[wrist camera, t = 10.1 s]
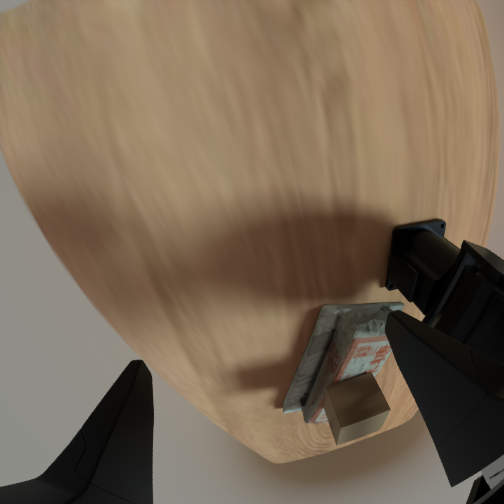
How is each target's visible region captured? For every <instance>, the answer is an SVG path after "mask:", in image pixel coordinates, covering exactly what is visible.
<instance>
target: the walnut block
mask: <svg viewBox="0 0 504 504" xmlns="http://www.w3.org/2000/svg"><path fill="white" fill-rule="evenodd" d="M324 410H325V413H326V416H327V419H328V422H329V425H330V428H331V431H332V434H333V436H334V439H335V442H336V445H340V444H343V443H346V442H349V441H352V440H354V439H357V438H360V437H363V436H365V435H368V434H371V433H373V432H376V431H378V430H380V429H381V427H382V426H383V424H384V422H385V420H386V418H387V416H388V414H389V412H390V410H391V409H390V407H389V405H388V403H387V401H386V399H385V397H384V395H383V393H382V391H381V389H380V387H379V386H378V384H377V382H376V380H375V378H374V376H373V374H372V372H369V373H366V374H363V375H360V376H358V377H355V378H352V379H349V380H346V381H342V382H339V383H336V384H333V385H329V386H326V387H325V402H324Z"/></svg>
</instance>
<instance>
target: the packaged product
mask: <svg viewBox="0 0 504 504" xmlns="http://www.w3.org/2000/svg"><path fill="white" fill-rule="evenodd" d="M403 307H404V303H402V302H389V303H367V304H330V305H324V306H323V307H322V308H321V310H320V313H319V316H318V319H317V321H316V324H315V328H314V331H313V333H312V335H311V338H310V340H309V342H308V344H307V347H306V349H305V351H304V354H303V357H302V359H301V362H300V364H299V366H298V369H297V371H296V373H295V376H294V378H293V381H292V383H291V386H290V388H289V390H288V392H287V395H286V398H285V400H284V403H283V413H291V412H296V411H302V412H303V416H304V421H305V422H306V423H314V424H323V423H326V422H328V419H327V416H326V413H325V410H324V402H325V387H326V386H329V385H333V384H336V383H339V382H342V381H346V380H349V379H352V378H355V377H358V376H360V375H363V374H366V373H369V372H372V374H373V376H374V377H375V376H376V374H377V373H378V372H379V370H380V368H381V367H382V366H383V364H384V363H385V361H386V359H387V358H388V356H389V354H390V353H391V352H392V349H391V347H390V344H389V342H388V339H387V337H386V334H385V324H386V320H387V316H388V313H389V312H391V311H394V310H401V311H402V309H403Z"/></svg>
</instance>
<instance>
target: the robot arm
mask: <svg viewBox="0 0 504 504" xmlns="http://www.w3.org/2000/svg"><path fill="white" fill-rule="evenodd" d="M445 227H446V222H445V221H443V220H441V219H440V220H435V221H429V222H423V223H418V224H412V225H406V226H401V227H396V228H395V229H394V230H393V234H392V243H391V251H390V256H389V263H388V270H387V278H386V284H385V287H386V288H387V290H389V291H391V290H395V289H398V290H399V291H400V292H401V293H402V294H403V295H404V297H405V298H406V299H407V300H408V301H409V302H413V303H414V304H415V305H416V306H417V307H418V308H419V310H420V311H421V312H422V313H423V314H424V315H426V316H425V317H424V319H423V320H422V322H421V321H419V320H418V319H416V318H414V317H412V316H410V315H408V314H406V313H404V312H402V311H401V310H394V311H391V312H389V313H388V316H387V320H386V324H385V334H386V337H387V339H388V342H389V344H390V347H391V349H392V352H393V354H394V357H395V360H396V362H397V365H398V367H399V369H400V371H401V373H402V375H403V377H404V379H405V381H406V383H407V385H408V387H409V389H410V391H411V393H412V395H413V397H414V399H415V401H416V404H417V406H418V408H419V410H420V412H421V414H422V416H423V419H424V421H425V423H426V425H427V428H428V430H429V432H430V435H431V437H432V439H433V442H434V444H435V447H436V449H437V452H438V454H439V457H440V459H441V462H442V464H443V467H444V469H445V472H446V475H447V477H448V480H449V483H450V485H451V487H453V486H455V485H457V484H459V483H461V482H462V481H464V480H466V479H468V478H469V477H471V476H473V475H474V474H476V473H477V472H479V471H481V472H482V475H481V476H480V477H479V478H477V479H476V480H475V481H474V483H473V486H472V489H471V492H470V494H469V497H468V500H467V502H466V504H504V260H503V259H501V258H500V257H499V256H497V255H496V254H494V253H493V252H491V251H490V250H488V249H487V248H484V247H481V246H479V245H476V244H474V243H471V242H468V241H466V240H463V242H462V245H461V249H459V248H458V247H457V246H455V245H454V244H453V243H451V242H450V241H448V240H447V239H446V238H444V233H445ZM398 232H399V234H398ZM397 234H398V235H397ZM153 426H154V405H153V385H152V376H151V373H150V371H149V369H148V368H147V366H146V364H145V363H144V361H143V360H133V361H131V362H130V363H129V364H128V366H127V367H126V368H125V370H124V371H123V372H122V373H121V375H120V376H119V377H118V379H117V380H116V381H115V383H114V384H113V385H112V387H111V388H110V390H109V391H108V392H107V393H106V395H105V396H104V397H103V399H102V400H101V402H100V403H99V404H98V405H97V407H96V408H95V409H94V411H93V412H92V413H91V415H90V416H89V418H88V419H87V420H86V422H85V423H84V424H83V426H82V429H80V430H79V431H78V433H77V434H76V435H75V437H74V438H73V439H72V441H71V442H70V443H69V445H68V446H67V447H66V448H65V449H64V450H63V452H62V453H61V454H60V455H59V456H58V457H57V459H56V460H55V461H54V462H53V463H52V464H51V465H50V466H49V467H48V469H47V470H46V471H45V472H44V473H43V474H41V475H40V476H39V477H37V478H35V479H32V480H28V481H24V482H20V483H16V484H12V485H7V486H3V487H0V504H153V484H152V483H153V482H152V481H153V479H152V477H153V476H152V464H153V463H152V462H153Z"/></svg>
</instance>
